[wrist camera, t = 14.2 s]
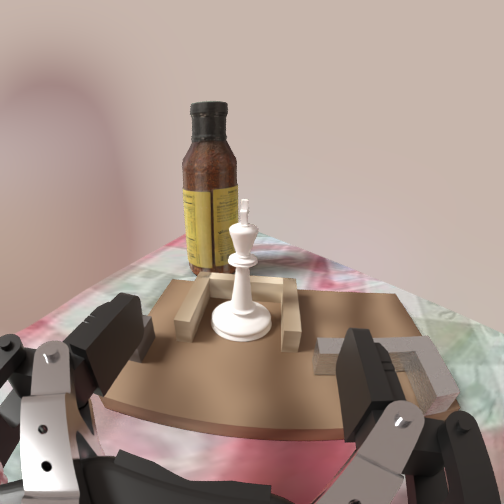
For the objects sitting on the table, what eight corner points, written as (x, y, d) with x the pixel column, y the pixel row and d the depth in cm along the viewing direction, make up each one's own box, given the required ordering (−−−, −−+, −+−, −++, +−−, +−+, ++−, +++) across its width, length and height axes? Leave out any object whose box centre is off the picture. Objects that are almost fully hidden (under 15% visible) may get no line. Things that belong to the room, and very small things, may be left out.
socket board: (391, 305, 27) (400, 277, 26) (450, 420, 13) (474, 388, 11) (173, 291, 29) (170, 261, 28) (105, 407, 14) (87, 373, 13)
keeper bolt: (419, 355, 18) (428, 335, 17) (445, 411, 12) (460, 391, 11) (312, 358, 18) (317, 337, 17) (319, 428, 13) (327, 409, 12)
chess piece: (205, 338, 20) (199, 206, 16) (217, 303, 25) (216, 191, 21) (270, 344, 20) (282, 211, 16) (272, 308, 24) (281, 195, 20)
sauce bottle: (236, 258, 38) (240, 106, 30) (240, 281, 32) (247, 99, 24) (187, 259, 37) (186, 106, 29) (183, 282, 31) (180, 99, 23)
